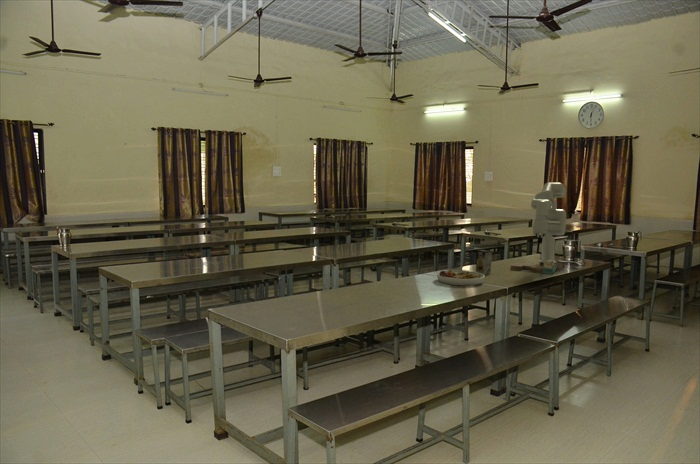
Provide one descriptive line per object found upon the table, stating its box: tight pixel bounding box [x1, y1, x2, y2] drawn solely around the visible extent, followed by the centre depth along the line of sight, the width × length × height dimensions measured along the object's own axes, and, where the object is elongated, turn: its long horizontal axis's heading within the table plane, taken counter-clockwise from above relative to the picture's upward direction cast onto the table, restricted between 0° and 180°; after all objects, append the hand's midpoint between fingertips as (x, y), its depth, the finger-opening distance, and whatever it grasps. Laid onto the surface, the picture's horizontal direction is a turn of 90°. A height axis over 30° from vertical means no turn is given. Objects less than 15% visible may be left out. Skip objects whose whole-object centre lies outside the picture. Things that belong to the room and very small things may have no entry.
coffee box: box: [475, 249, 493, 275], centre depth 372 cm, size 9×6×16 cm
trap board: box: [510, 262, 558, 275], centre depth 388 cm, size 17×29×3 cm, turn 60°
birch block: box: [543, 260, 555, 268], centre depth 380 cm, size 5×5×5 cm
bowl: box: [436, 269, 486, 287], centre depth 342 cm, size 30×30×8 cm
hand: (539, 242), depth 384 cm, fingers closed
